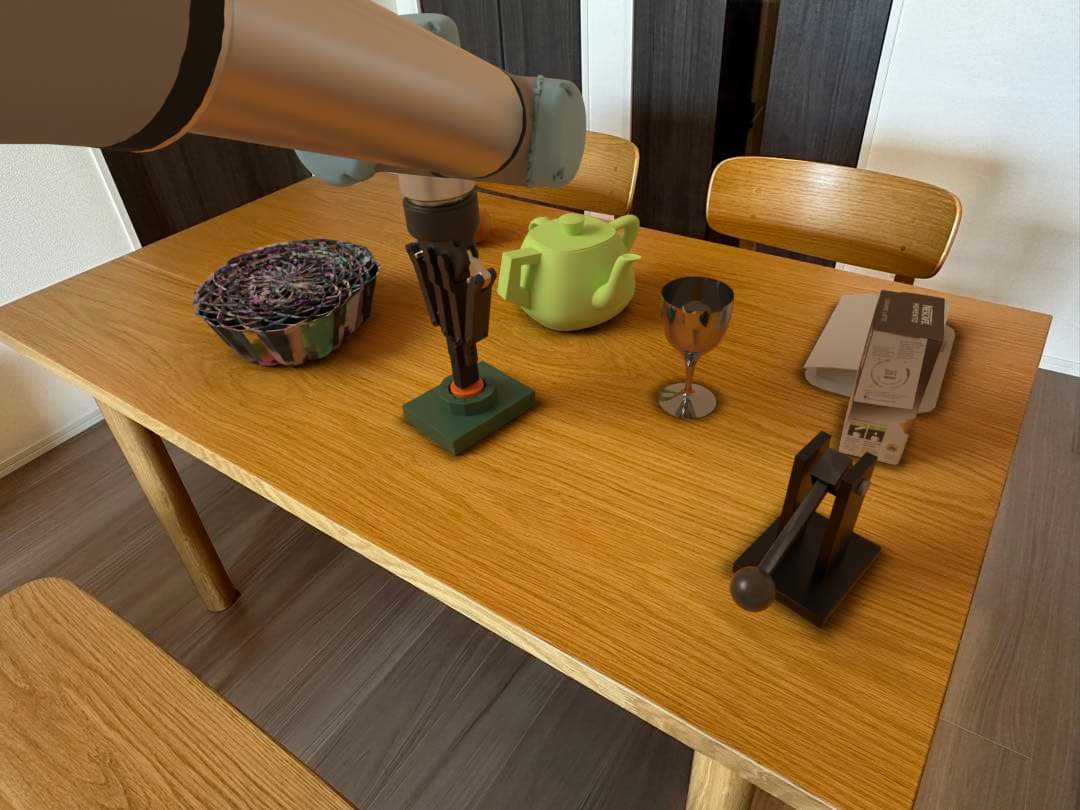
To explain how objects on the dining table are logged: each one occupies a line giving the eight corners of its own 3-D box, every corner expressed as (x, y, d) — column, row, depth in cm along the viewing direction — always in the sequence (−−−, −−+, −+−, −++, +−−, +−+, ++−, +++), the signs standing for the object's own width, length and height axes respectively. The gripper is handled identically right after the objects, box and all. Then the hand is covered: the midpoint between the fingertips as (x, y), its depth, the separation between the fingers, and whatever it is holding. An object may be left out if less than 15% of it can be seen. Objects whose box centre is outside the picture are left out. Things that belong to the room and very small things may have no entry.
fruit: (505, 216, 125) (476, 183, 120) (486, 250, 121) (455, 218, 117) (476, 227, 131) (447, 196, 126) (456, 260, 127) (426, 230, 123)
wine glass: (662, 376, 90) (669, 272, 81) (724, 387, 88) (739, 281, 78) (647, 413, 84) (653, 305, 75) (713, 426, 82) (728, 316, 73)
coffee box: (900, 467, 75) (945, 342, 65) (837, 453, 77) (872, 330, 67) (904, 417, 81) (946, 296, 71) (846, 405, 84) (879, 286, 74)
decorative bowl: (410, 296, 114) (401, 238, 109) (351, 385, 92) (336, 317, 86) (264, 293, 117) (248, 237, 112) (172, 379, 95) (146, 313, 89)
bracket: (820, 629, 60) (857, 520, 51) (731, 571, 65) (751, 464, 57) (878, 556, 66) (920, 447, 57) (792, 508, 71) (819, 402, 63)
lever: (762, 626, 56) (756, 615, 53) (725, 600, 58) (717, 588, 55) (861, 477, 59) (861, 459, 56) (822, 457, 61) (819, 439, 58)
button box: (455, 456, 80) (450, 429, 78) (404, 419, 86) (399, 393, 83) (536, 404, 87) (534, 378, 84) (484, 373, 93) (481, 348, 90)
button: (466, 410, 83) (464, 398, 82) (445, 396, 85) (443, 385, 84) (491, 395, 85) (490, 383, 84) (470, 382, 87) (469, 370, 86)
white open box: (957, 326, 96) (967, 301, 93) (931, 419, 81) (941, 392, 78) (842, 301, 103) (848, 277, 100) (798, 382, 88) (804, 357, 85)
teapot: (528, 275, 114) (522, 189, 105) (650, 283, 110) (655, 194, 101) (498, 336, 100) (488, 243, 91) (637, 347, 96) (641, 251, 87)
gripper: (510, 196, 67) (526, 390, 82) (429, 167, 75) (457, 349, 89) (450, 221, 63) (478, 420, 78) (371, 188, 71) (410, 375, 85)
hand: (466, 382), depth 84 cm, fingers closed
